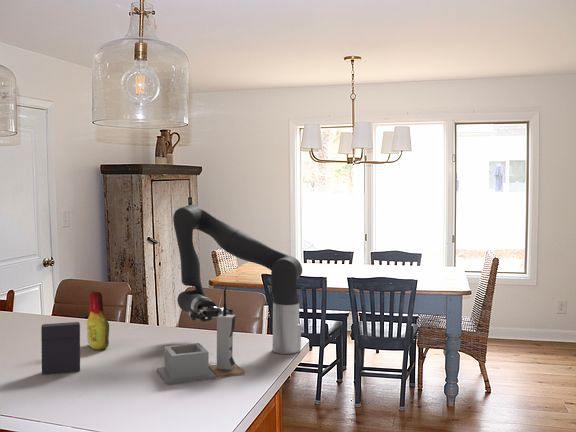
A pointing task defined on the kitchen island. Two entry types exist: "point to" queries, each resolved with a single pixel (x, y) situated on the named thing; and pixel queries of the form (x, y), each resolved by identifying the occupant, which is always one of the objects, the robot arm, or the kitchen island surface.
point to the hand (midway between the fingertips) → (217, 317)
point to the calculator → (60, 348)
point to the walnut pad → (226, 371)
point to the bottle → (97, 323)
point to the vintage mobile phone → (225, 339)
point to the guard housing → (185, 364)
